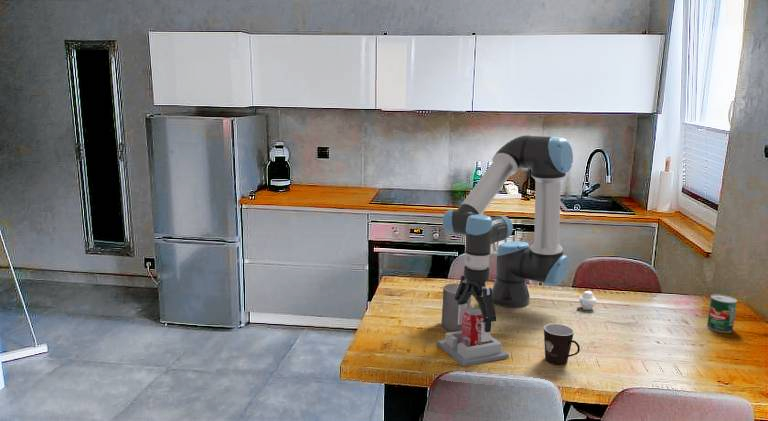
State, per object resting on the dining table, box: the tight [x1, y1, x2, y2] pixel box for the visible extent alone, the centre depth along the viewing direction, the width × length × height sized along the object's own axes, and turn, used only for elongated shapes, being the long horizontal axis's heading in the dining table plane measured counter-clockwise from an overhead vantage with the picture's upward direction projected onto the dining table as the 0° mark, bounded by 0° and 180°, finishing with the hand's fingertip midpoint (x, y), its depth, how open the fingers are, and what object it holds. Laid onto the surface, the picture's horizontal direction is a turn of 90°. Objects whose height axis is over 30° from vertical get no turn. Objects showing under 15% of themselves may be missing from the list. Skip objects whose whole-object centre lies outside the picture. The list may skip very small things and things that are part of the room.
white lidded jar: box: [578, 290, 597, 311], centre depth 211 cm, size 6×6×7 cm
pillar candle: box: [441, 283, 472, 332], centre depth 192 cm, size 10×10×15 cm
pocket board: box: [437, 331, 510, 367], centre depth 174 cm, size 16×16×4 cm
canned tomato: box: [706, 293, 738, 334], centre depth 195 cm, size 8×8×11 cm
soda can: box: [461, 307, 484, 347], centre depth 173 cm, size 7×7×12 cm
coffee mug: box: [543, 323, 581, 366], centre depth 167 cm, size 12×9×10 cm
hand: (473, 332), depth 174 cm, fingers open, 13 cm apart
